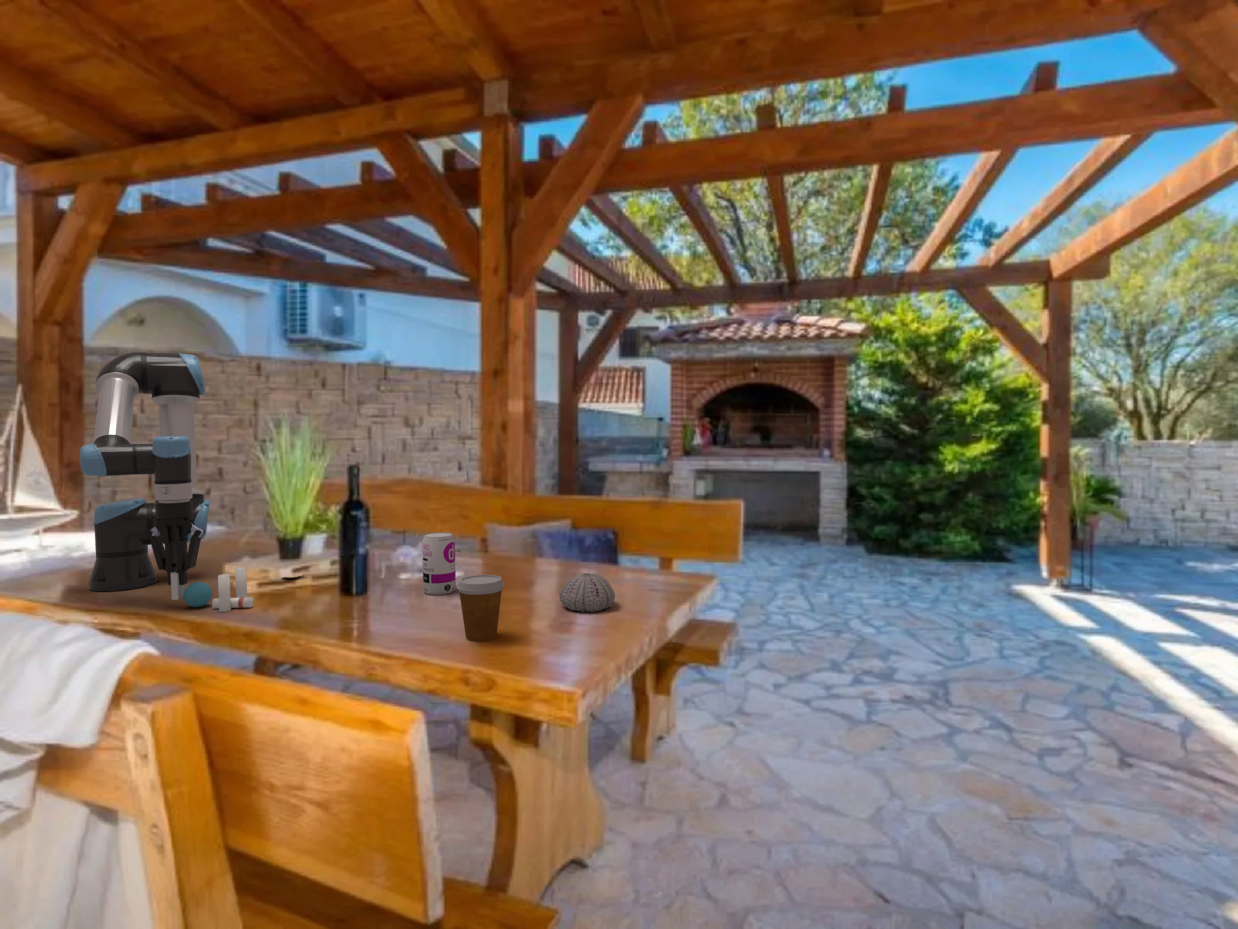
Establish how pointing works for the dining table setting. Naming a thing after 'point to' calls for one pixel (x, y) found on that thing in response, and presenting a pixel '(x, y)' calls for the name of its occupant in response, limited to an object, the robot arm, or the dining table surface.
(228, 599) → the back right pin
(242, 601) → the front pin
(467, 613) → the disposable coffee cup
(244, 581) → the back left pin
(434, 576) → the supplement can
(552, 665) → the dining table surface
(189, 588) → the ball
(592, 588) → the sea urchin shell
